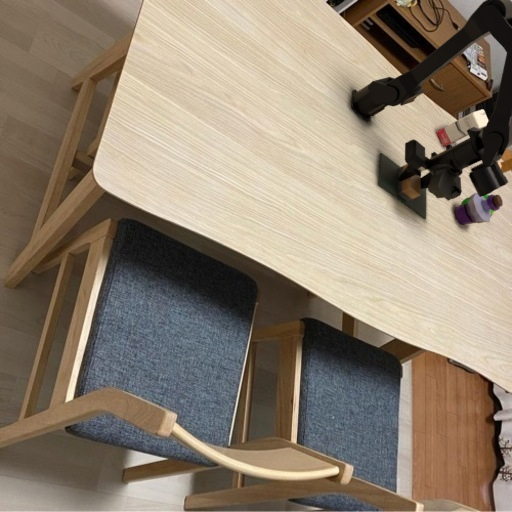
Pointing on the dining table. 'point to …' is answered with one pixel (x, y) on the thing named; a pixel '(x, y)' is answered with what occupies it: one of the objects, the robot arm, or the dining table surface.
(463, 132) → the ink box
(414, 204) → the chalkboard
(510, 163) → the supplement box
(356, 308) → the dining table surface
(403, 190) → the brown rectangular block
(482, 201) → the potion bottle
